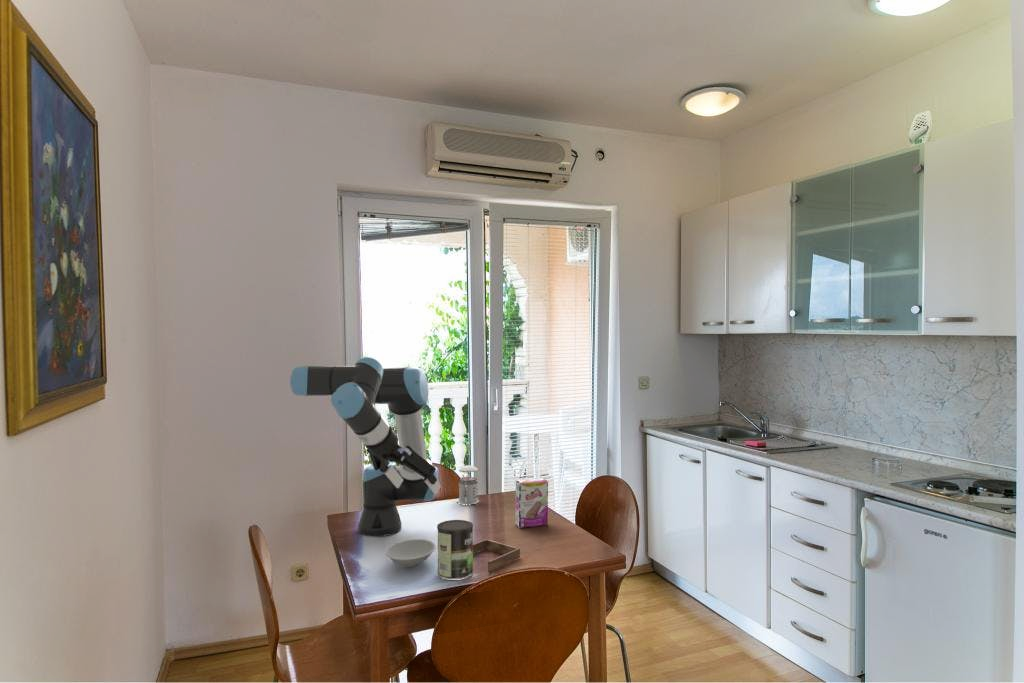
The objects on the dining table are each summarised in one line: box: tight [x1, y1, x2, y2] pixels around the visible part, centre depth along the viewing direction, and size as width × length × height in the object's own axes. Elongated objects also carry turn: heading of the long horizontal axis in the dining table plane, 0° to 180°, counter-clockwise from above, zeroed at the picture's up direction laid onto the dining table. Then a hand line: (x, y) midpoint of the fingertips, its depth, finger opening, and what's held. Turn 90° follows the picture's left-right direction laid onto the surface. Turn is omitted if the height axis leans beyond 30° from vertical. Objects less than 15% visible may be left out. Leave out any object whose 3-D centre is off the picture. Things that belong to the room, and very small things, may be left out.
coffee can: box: [436, 519, 474, 580], centre depth 168 cm, size 10×10×14 cm
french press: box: [457, 441, 480, 506], centre depth 242 cm, size 10×12×25 cm
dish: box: [385, 538, 437, 567], centre depth 174 cm, size 18×14×5 cm
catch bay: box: [473, 538, 521, 573], centre depth 179 cm, size 14×14×3 cm
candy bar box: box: [514, 478, 549, 529], centre depth 212 cm, size 11×5×16 cm, turn 108°
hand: (418, 486), depth 156 cm, fingers open, 13 cm apart
